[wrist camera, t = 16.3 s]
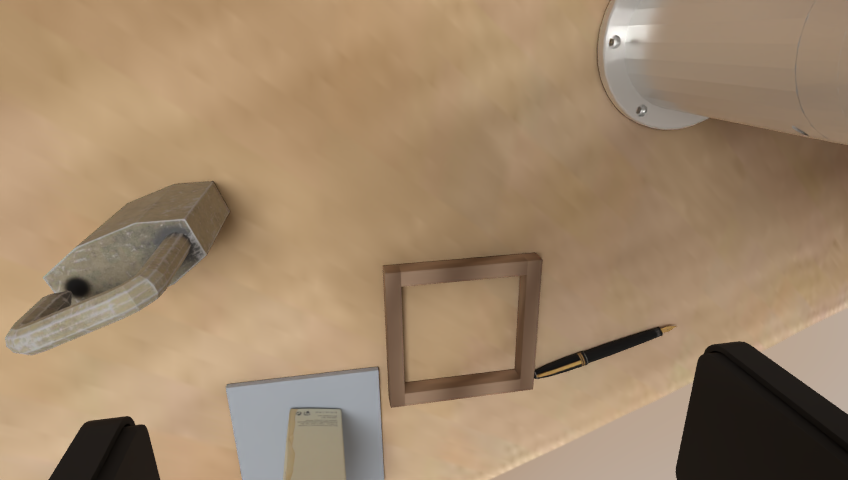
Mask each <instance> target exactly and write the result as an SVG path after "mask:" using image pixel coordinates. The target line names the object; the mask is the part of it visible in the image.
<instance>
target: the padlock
mask: <svg viewBox="0 0 848 480" xmlns="http://www.w3.org/2000/svg"><path fill="white" fill-rule="evenodd" d="M229 212H230V211H229V209H228V207H227V205H226V203H225V202H224V200H223V198H222V196H221V195H220V193H219V191H218V189H217V187H216V186H215V184H214V182H213V181H212V182H198V183H184V184H173V185H171V186H169V187H166V188H164V189H161V190H159V191H156V192H154V193H151V194H149V195H147V196H144V197H142V198H139V199H137V200H134V201H132V202H130V203H127V204H126V205H125V206H124V207H123V208H121V209H120V210H119V211H118V212H117V213H115V214H114V215H113V216H112V217H111V218H110V219H108V220H107V221H106V222H105V223H104V224H103V225H101V226H100V227H99V228H98V229H97V230H95V231H94V232H93V233H92V234H91V235H90V236H88V237H87V238H86V239H85V240H84V241H82V242H81V243H80V244H79V245H78V246H77V247H75V248H74V249H73V250H72V251H71V252H70V253H69V254H68V255H67V256H66V257H65V258H63V259H62V260H61V261H60V262H59V263H58V264H57V265H56V266H55V267H54V268H53V269H52V270H50V271H49V272H48V273H47V274H46V275H45V276H44V277H43V279H44V280H45V281H46V282H47V284H48V285H49V286H50V288H51V289H52V290H53V292H54V294H50V295H47V296H45V297H43V298H42V299H41V300H40V301H38V302H37V303H36V304H35V305H34V306H33V307H32V308H31V309H30V310H29V311H28V312H27V313H26V314H24V315H23V316H22V317H21V318H20V319H19V320H18V321H17V322H16V323H15V324H14V325H13V327H12V328H11V329H10V331H9V332H8V334H7V336H6V337H5V340H6V346H7V347H8V348H9V349H10V350H11V351H12V352H14V353H19V354H26V355H35V354H38V353H41V352H44V351H47V350H49V349H52V348H54V347H56V346H59V345H61V344H63V343H66V342H68V341H71V340H73V339H75V338H78V337H80V336H83V335H85V334H87V333H90V332H92V331H95V330H97V329H99V328H102V327H104V326H107V325H109V324H111V323H114V322H116V321H118V320H121V319H123V318H125V317H127V316H129V315H131V314H133V313H136V312H138V311H140V310H141V309H143V308H144V307H146V306H147V305H149V304H150V303H152V302H153V301H155V300H156V299H158V298H159V297H160V295H161V294H162V293H163V292H164V291H165V290H166V289H167V287H168V286H170V285H173V284H175V283H176V282H177V281H178V280H179V279H180V278H182V277H183V276H184V275H185V274H186V273H187V272H188V271H189V270H191V269H192V268H193V267H194V266H195V265H196V264H197V263H198V262H200V261H201V260H202V259H203V258H204V257H205V256H206V255H207V254H208V252H209V250H210V248H211V246H212V244H213V242H214V240H215V239H216V237H217V235H218V233H219V231H220V229H221V227H222V225H223V223H224V222H225V220H226V218H227V216H228V214H229Z"/></svg>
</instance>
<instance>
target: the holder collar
mask: <svg viewBox="0 0 848 480" xmlns="http://www.w3.org/2000/svg"><path fill="white" fill-rule="evenodd" d="M541 273H542V259H541V258H540V257H539V256H538V255H537V254H536V253H525V254H514V255H502V256H490V257H478V258H467V259H455V260H443V261H432V262H420V263H408V264H396V265H385V266H383V282H384V304H385V326H386V348H387V369H388V391H389V400H390V406H391V408H392V407H400V406H408V405H415V404H423V403H431V402H438V401H446V400H454V399H461V398H469V397H477V396H485V395H492V394H500V393H508V392H515V391H523V390H531V389H533V383H534V369H535V355H536V342H537V328H538V314H539V300H540V287H541ZM511 276H520V283H519V301H518V319H517V336H516V354H515V369H512V370H504V371H496V372H487V373H479V374H471V375H463V376H455V377H447V378H438V379H430V380H422V381H414V382H406V383H404V353H403V322H402V291H401V287H403V286H414V285H425V284H436V283H446V282H457V281H468V280H479V279H490V278H501V277H511Z"/></svg>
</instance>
